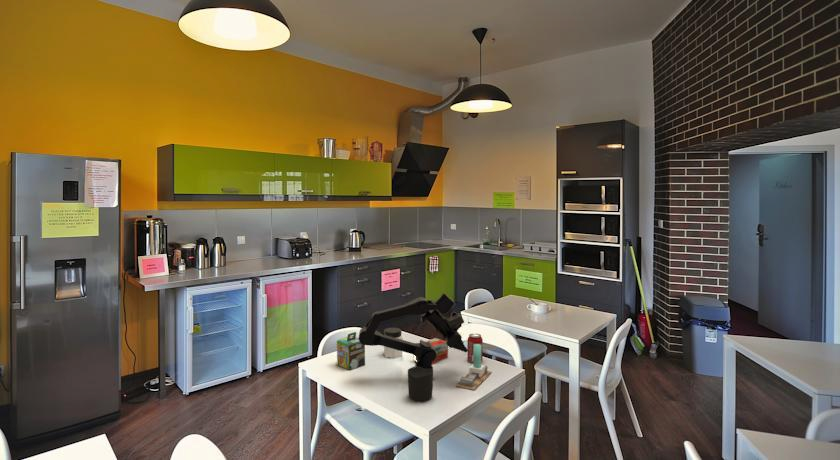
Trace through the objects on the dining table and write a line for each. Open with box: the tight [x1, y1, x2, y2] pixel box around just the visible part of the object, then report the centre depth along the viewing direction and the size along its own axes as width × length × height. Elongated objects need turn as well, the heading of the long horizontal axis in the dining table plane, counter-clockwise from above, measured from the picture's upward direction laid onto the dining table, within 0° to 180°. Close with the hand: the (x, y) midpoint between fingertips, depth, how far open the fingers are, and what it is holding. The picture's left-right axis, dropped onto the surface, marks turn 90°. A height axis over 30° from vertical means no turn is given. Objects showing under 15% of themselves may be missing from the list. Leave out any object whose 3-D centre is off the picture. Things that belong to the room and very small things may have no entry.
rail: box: [454, 364, 493, 391], centre depth 181 cm, size 20×8×3 cm, turn 152°
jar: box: [383, 327, 403, 359], centre depth 210 cm, size 9×8×12 cm
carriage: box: [468, 344, 486, 377], centre depth 184 cm, size 5×5×12 cm
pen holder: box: [407, 366, 434, 403], centre depth 165 cm, size 9×9×10 cm
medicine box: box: [425, 337, 449, 365], centre depth 204 cm, size 15×8×8 cm, turn 137°
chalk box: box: [336, 331, 366, 371], centre depth 197 cm, size 9×9×15 cm
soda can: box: [466, 333, 484, 364], centre depth 202 cm, size 7×7×12 cm
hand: (465, 347), depth 183 cm, fingers open, 9 cm apart
